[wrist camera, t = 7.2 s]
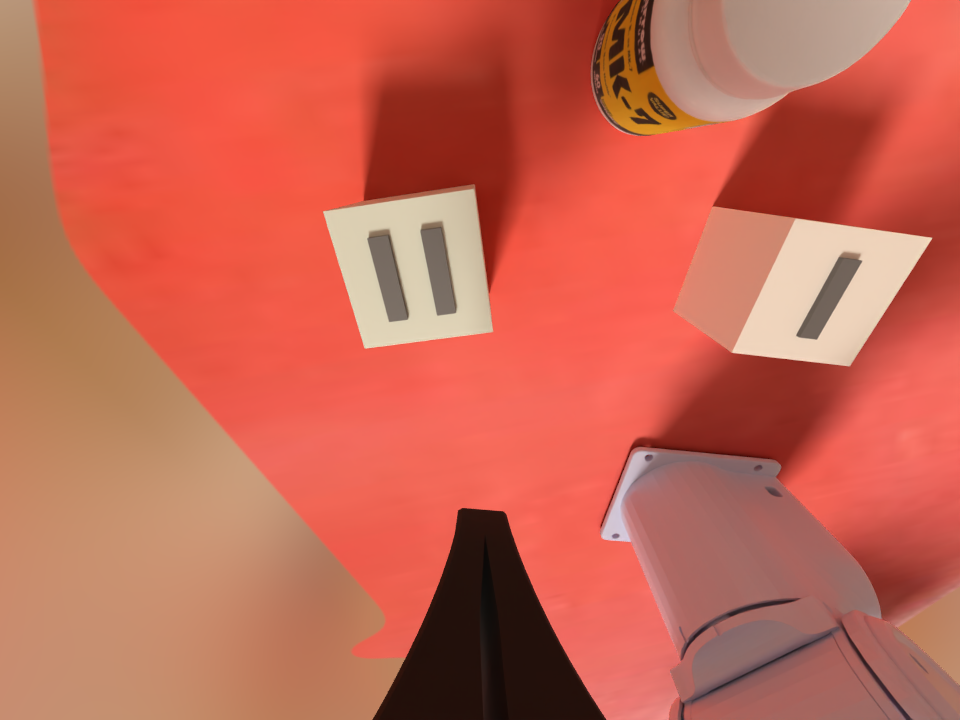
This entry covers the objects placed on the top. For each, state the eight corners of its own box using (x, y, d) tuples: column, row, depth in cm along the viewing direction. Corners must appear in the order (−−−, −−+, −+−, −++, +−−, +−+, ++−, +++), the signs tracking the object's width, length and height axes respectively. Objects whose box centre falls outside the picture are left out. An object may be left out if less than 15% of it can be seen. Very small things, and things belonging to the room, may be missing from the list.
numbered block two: (474, 184, 16) (473, 188, 12) (489, 293, 19) (493, 333, 14) (364, 200, 17) (320, 212, 12) (391, 306, 19) (363, 350, 14)
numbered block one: (814, 220, 17) (938, 238, 13) (764, 321, 19) (854, 368, 15) (711, 206, 17) (800, 219, 12) (672, 310, 19) (734, 355, 15)
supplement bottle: (570, 30, 14) (679, -133, 7) (697, -47, 13) (993, -338, 6) (609, 160, 16) (726, 150, 8) (721, 101, 15) (965, 32, 8)
